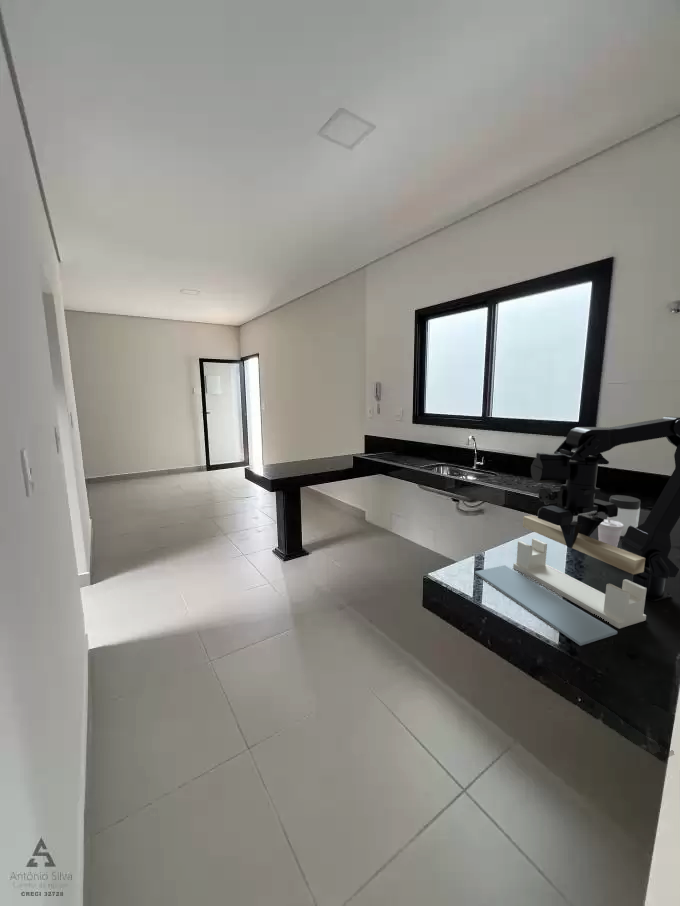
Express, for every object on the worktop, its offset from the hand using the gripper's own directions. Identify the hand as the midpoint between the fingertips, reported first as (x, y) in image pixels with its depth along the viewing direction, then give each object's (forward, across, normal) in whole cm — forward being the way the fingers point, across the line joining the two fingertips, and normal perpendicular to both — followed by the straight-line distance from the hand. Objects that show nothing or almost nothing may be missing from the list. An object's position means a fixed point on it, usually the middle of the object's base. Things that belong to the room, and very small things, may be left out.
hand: (574, 546), depth 87 cm
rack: (+11, 0, 0) cm, 11 cm away
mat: (+12, +11, 0) cm, 16 cm away
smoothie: (+12, -28, -11) cm, 32 cm away
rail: (0, 0, 0) cm, 0 cm away
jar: (+12, -49, -21) cm, 55 cm away
